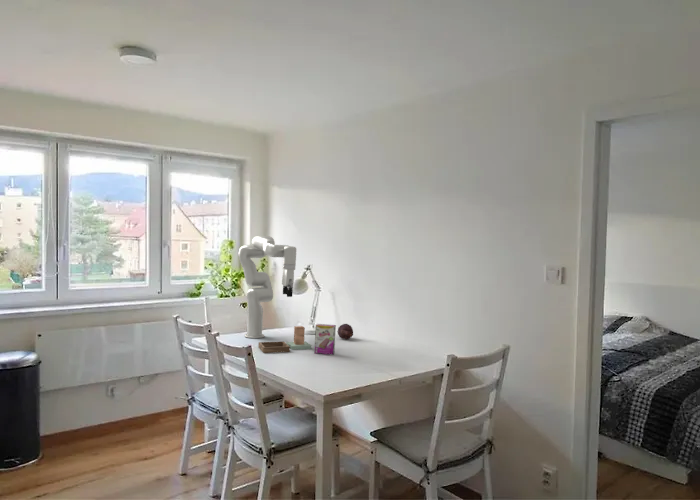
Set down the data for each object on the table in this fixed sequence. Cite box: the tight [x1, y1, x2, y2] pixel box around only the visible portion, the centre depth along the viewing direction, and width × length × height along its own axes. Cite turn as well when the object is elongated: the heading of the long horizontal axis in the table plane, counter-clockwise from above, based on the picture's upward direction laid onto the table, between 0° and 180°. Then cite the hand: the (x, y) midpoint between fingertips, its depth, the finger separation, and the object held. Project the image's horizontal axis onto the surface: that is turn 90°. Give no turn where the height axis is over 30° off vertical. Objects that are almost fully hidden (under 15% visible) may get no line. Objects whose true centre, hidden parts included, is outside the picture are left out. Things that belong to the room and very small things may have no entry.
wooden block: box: [293, 325, 305, 345], centre depth 311 cm, size 5×5×10 cm
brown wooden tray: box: [257, 341, 291, 354], centre depth 302 cm, size 15×15×3 cm
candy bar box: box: [314, 323, 337, 355], centre depth 297 cm, size 11×5×16 cm, turn 84°
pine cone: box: [336, 323, 354, 340], centre depth 342 cm, size 18×10×10 cm, turn 20°
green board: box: [286, 340, 313, 351], centre depth 312 cm, size 12×12×2 cm
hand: (287, 295), depth 313 cm, fingers open, 9 cm apart
